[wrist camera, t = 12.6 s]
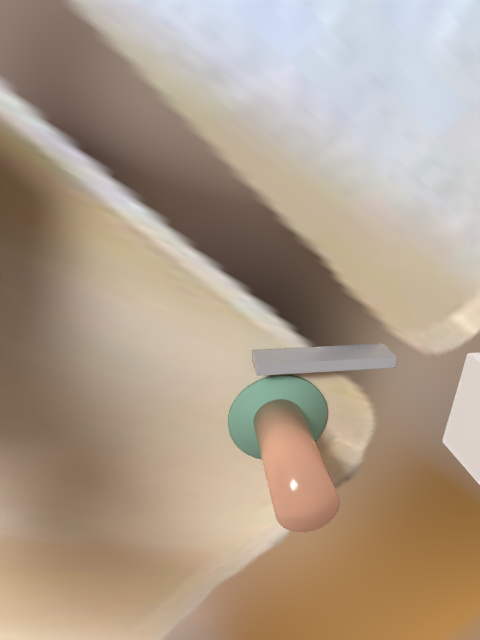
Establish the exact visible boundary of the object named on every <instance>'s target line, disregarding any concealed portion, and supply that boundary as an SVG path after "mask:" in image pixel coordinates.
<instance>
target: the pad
mask: <svg viewBox="0 0 480 640" xmlns="http://www.w3.org/2000/svg"><path fill="white" fill-rule="evenodd" d="M277 399H285V400H289V401H292V402H294V403H295V404H297V405H298V406H299V408H300V409H301V411H302V413H303V416H304V418H305V420H306V423H307V425H308V427H309V430H310V432H311V434H312V436H313V439H314V441H316V440H317V439H318V438H319V436H320V435H321V433H322V431H323V429H324V427H325V424H326V421H327V406H326V402H325V400H324V398H323V396H322V394H321V393H320V391H319V390H318V389H317V388H316V387H315V386H314V385H313V384H312V383H310V382H309V381H307V380H305V379H302V378H300V377H296V376H291V375H276V376H270V377H266V378H263V379H261V380H258V381H256V382H254V383H253V384H251V385H249V386H248V387H247V388H246V389H244V390H243V391H242V392H241V393H240V394H239V395H238V397H237V398H236V399H235V401H234V403H233V404H232V406H231V409H230V412H229V417H228V426H229V432H230V435H231V437H232V440H233V441H234V443H235V444H236V445H237V447H238V448H239V449H241V450H242V451H243V452H245V453H246V454H248V455H250V456H252V457H255V458H258V459H262V458H261V454H260V450H259V446H258V442H257V437H256V433H255V429H254V425H253V421H254V416H255V414H256V412H257V411H258V410H259V408H260V407H261V406H263V405H264V404H266V403H268V402H270V401H273V400H277Z"/></svg>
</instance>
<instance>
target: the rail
mask: <svg viewBox="0 0 480 640" xmlns="http://www.w3.org/2000/svg"><path fill="white" fill-rule="evenodd" d="M396 360H397V357H396V356H395V354H394V353H392V352H391V351H390V349H389V348H388V347H387V346H386V345H385V344H367V345H347V346H327V347H307V348H287V349H267V350H252V361H253V365H254V368H255V371H256V374H257V376H261V375H278V374H295V373H313V372H330V371H347V370H363V369H364V370H365V369H381V368H395V366H396Z"/></svg>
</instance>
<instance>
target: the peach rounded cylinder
mask: <svg viewBox="0 0 480 640" xmlns="http://www.w3.org/2000/svg"><path fill="white" fill-rule="evenodd" d="M253 425H254V429H255V433H256V437H257V442H258V446H259V450H260V454H261V458H262V462H263V466H264V470H265V474H266V478H267V482H268V486H269V491H270V495H271V499H272V503H273V507H274V511H275V515H276V519H277V521H278V522H279V524H280V525H281V526H283V527H284V528H286V529H288V530H290V531H294V532H308V531H313V530H316V529H318V528H321V527H323V526H324V525H326V524H327V523H329V522H330V521H331V520H332V519H333V518H334V516H335V515H336V513H337V512H338V509H339V504H340V502H339V497H338V494H337V492H336V490H335V487H334V485H333V483H332V480H331V478H330V476H329V474H328V471H327V469H326V467H325V464H324V462H323V460H322V457H321V455H320V453H319V450H318V448H317V446H316V443H315V441H314V439H313V436H312V434H311V432H310V430H309V427H308V425H307V423H306V420H305V418H304V416H303V413H302V411H301V409H300V408H299V406H298V405H297V404H295V403H294V402H292V401H289V400H285V399H277V400H273V401H270V402H268V403H266V404H264V405H263V406H261V407H260V408H259V410H258V411H257V412H256V414H255V416H254V421H253Z"/></svg>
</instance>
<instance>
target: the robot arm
mask: <svg viewBox="0 0 480 640" xmlns="http://www.w3.org/2000/svg"><path fill="white" fill-rule="evenodd" d="M442 442H443V443H444V444H445V445H446V446H447V448H448V449H449V450H450V451H451V452H452V454H454V456H455V457H456V458H457V459H458V460H459V462H460V463H461V464H462V465H463V466H464V467H465V468H466V470H467V471H468V472H469V473H470V474H471V476H472V477H473V478H474V479H475V480H476V481H477V482H478V484H479V485H480V353H468V354H467V357H466V361H465V364H464V368H463V371H462V375H461V378H460V382H459V385H458V389H457V392H456V396H455V399H454V403H453V406H452V410H451V413H450V416H449V420H448V423H447V427H446V430H445V434H444V437H443V441H442Z"/></svg>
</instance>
